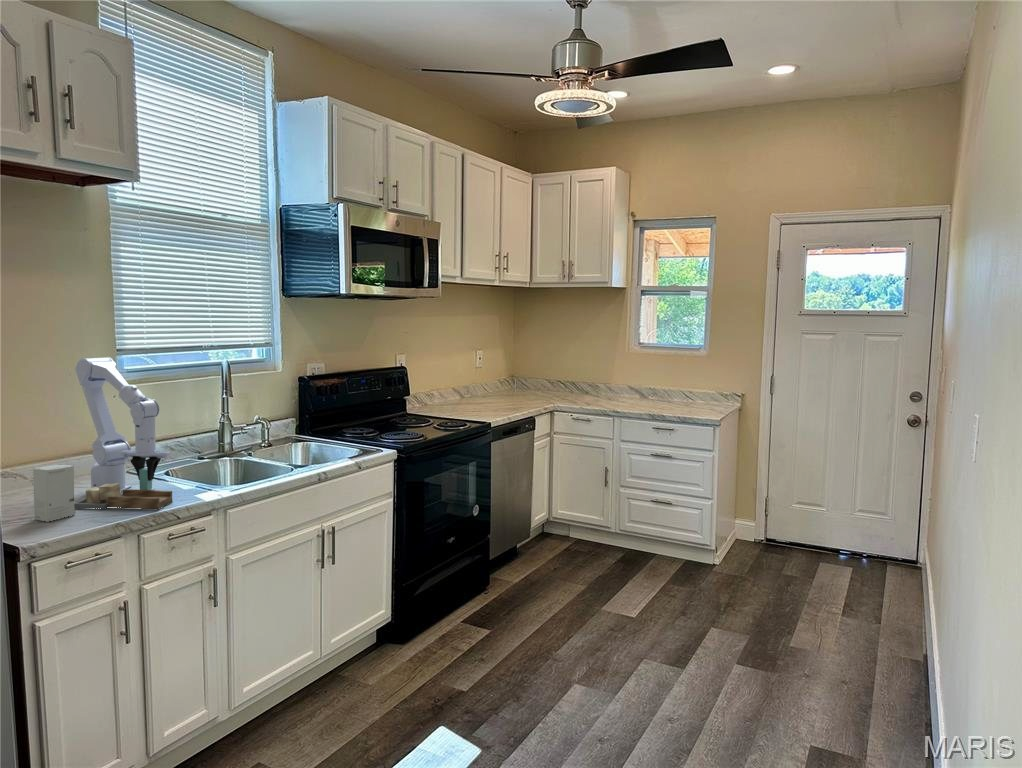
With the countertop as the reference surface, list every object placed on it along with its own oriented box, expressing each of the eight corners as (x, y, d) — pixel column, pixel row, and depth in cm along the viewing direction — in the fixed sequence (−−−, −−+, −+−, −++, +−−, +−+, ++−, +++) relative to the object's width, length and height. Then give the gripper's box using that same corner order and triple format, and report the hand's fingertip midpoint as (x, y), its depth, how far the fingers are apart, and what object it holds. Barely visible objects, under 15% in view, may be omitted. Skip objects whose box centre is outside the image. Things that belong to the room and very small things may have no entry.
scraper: (137, 498, 219) (136, 470, 218) (145, 494, 224) (144, 466, 223) (146, 498, 219) (146, 470, 218) (154, 494, 224) (154, 467, 223)
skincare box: (47, 523, 192) (46, 470, 190) (32, 519, 194) (31, 468, 192) (76, 515, 199) (74, 464, 198) (61, 512, 202) (60, 462, 200)
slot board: (107, 508, 207) (107, 496, 207) (124, 500, 216) (124, 489, 216) (157, 509, 207) (157, 498, 207) (172, 501, 216) (172, 490, 216)
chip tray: (73, 508, 205) (72, 503, 205) (96, 497, 217) (96, 493, 217) (104, 509, 206) (104, 504, 205) (127, 498, 218) (126, 494, 217)
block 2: (100, 499, 210) (98, 487, 209) (107, 496, 214) (106, 483, 213) (113, 499, 210) (111, 486, 209) (120, 495, 214) (119, 483, 213)
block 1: (99, 503, 210) (86, 503, 210) (107, 499, 214) (94, 499, 214) (98, 490, 209) (85, 490, 209) (106, 487, 213) (93, 487, 213)
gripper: (115, 439, 216) (116, 481, 217) (161, 441, 216) (162, 483, 217) (127, 435, 223) (128, 476, 224) (172, 437, 223) (173, 478, 224)
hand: (146, 479), depth 221 cm, fingers closed on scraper, 2 cm apart
